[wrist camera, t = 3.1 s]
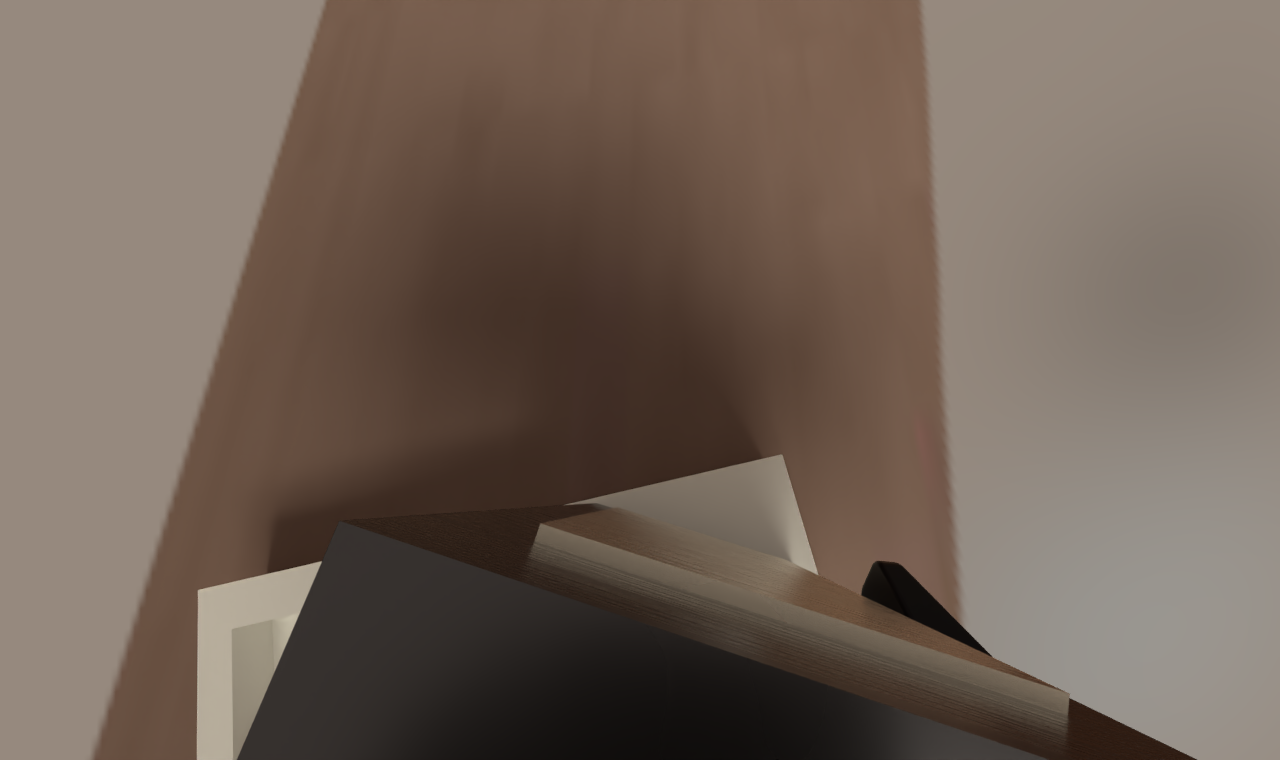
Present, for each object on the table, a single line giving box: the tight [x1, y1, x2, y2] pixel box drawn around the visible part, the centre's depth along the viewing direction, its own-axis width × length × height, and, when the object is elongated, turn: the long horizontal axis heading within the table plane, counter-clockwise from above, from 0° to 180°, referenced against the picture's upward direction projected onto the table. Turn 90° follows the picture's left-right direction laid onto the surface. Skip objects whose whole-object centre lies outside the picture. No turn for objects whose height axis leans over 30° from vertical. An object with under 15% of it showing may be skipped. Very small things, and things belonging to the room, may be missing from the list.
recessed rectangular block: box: [197, 454, 818, 760], centre depth 15 cm, size 7×18×2 cm, turn 103°
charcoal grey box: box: [237, 503, 1197, 760], centre depth 8 cm, size 3×6×12 cm, turn 73°
